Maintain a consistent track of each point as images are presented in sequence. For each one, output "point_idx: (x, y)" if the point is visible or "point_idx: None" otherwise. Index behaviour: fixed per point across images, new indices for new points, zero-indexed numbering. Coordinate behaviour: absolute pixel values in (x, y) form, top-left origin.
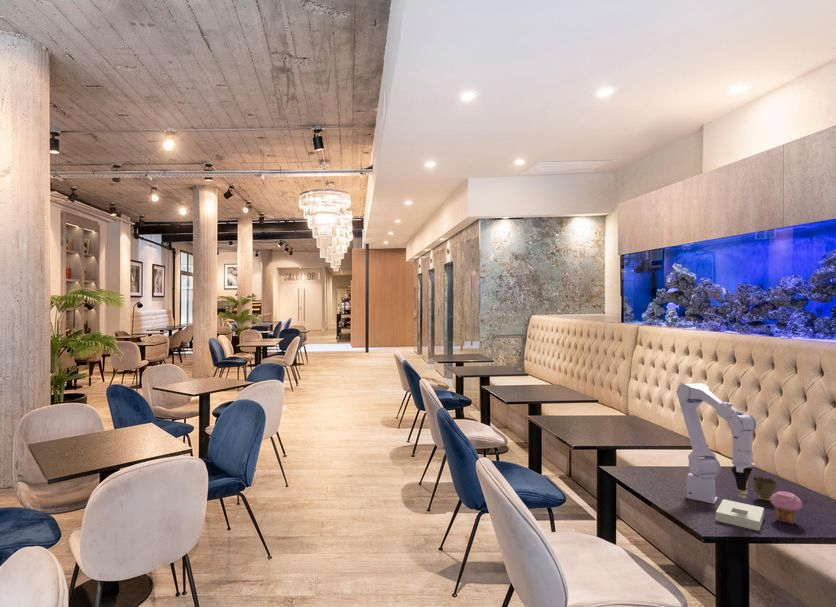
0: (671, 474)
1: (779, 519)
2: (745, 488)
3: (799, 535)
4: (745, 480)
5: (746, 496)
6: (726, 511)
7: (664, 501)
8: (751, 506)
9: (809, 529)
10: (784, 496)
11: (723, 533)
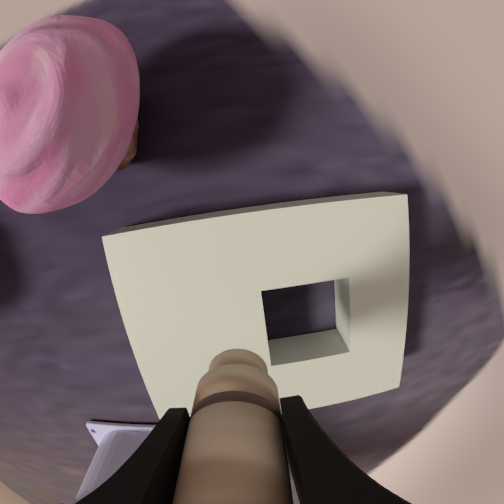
0: (42, 494)
1: (136, 146)
2: (300, 406)
3: (282, 36)
4: (360, 476)
5: (233, 354)
6: (362, 364)
7: (294, 499)
8: (142, 299)
9: (147, 28)
10: (68, 78)
11: (487, 292)
